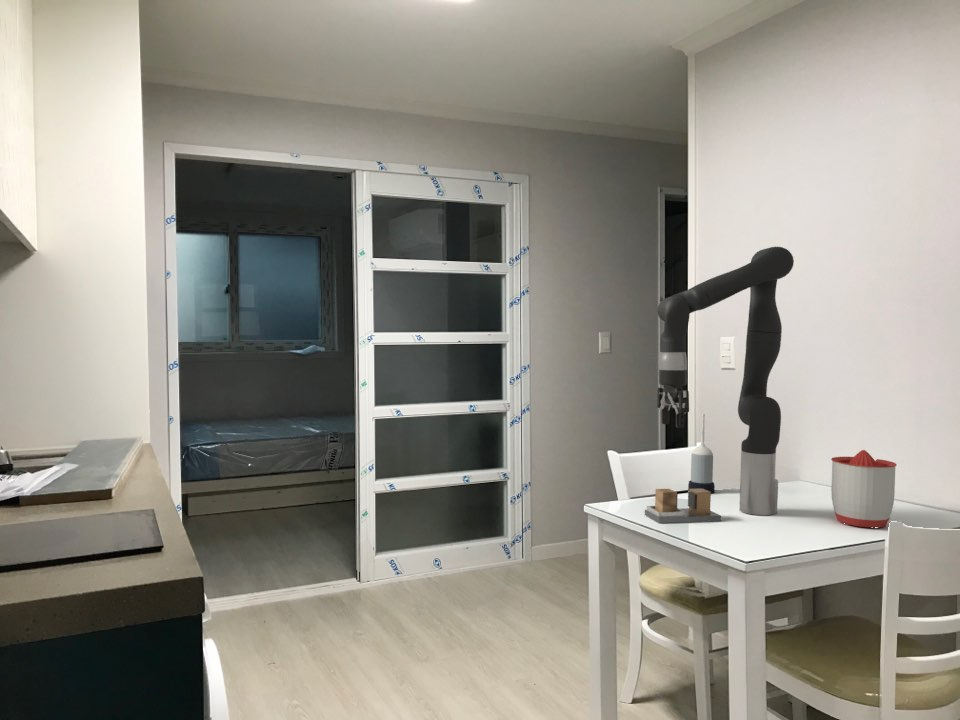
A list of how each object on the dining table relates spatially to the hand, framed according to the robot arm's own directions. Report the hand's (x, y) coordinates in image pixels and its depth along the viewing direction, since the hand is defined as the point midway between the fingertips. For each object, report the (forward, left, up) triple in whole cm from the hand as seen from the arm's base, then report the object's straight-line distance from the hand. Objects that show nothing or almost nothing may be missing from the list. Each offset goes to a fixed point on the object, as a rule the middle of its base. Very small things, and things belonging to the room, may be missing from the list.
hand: (672, 425), depth 203 cm
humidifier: (-23, -25, -25) cm, 42 cm away
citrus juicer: (-47, +18, -25) cm, 56 cm away
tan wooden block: (+5, +7, -23) cm, 24 cm away
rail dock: (0, +7, -25) cm, 25 cm away
